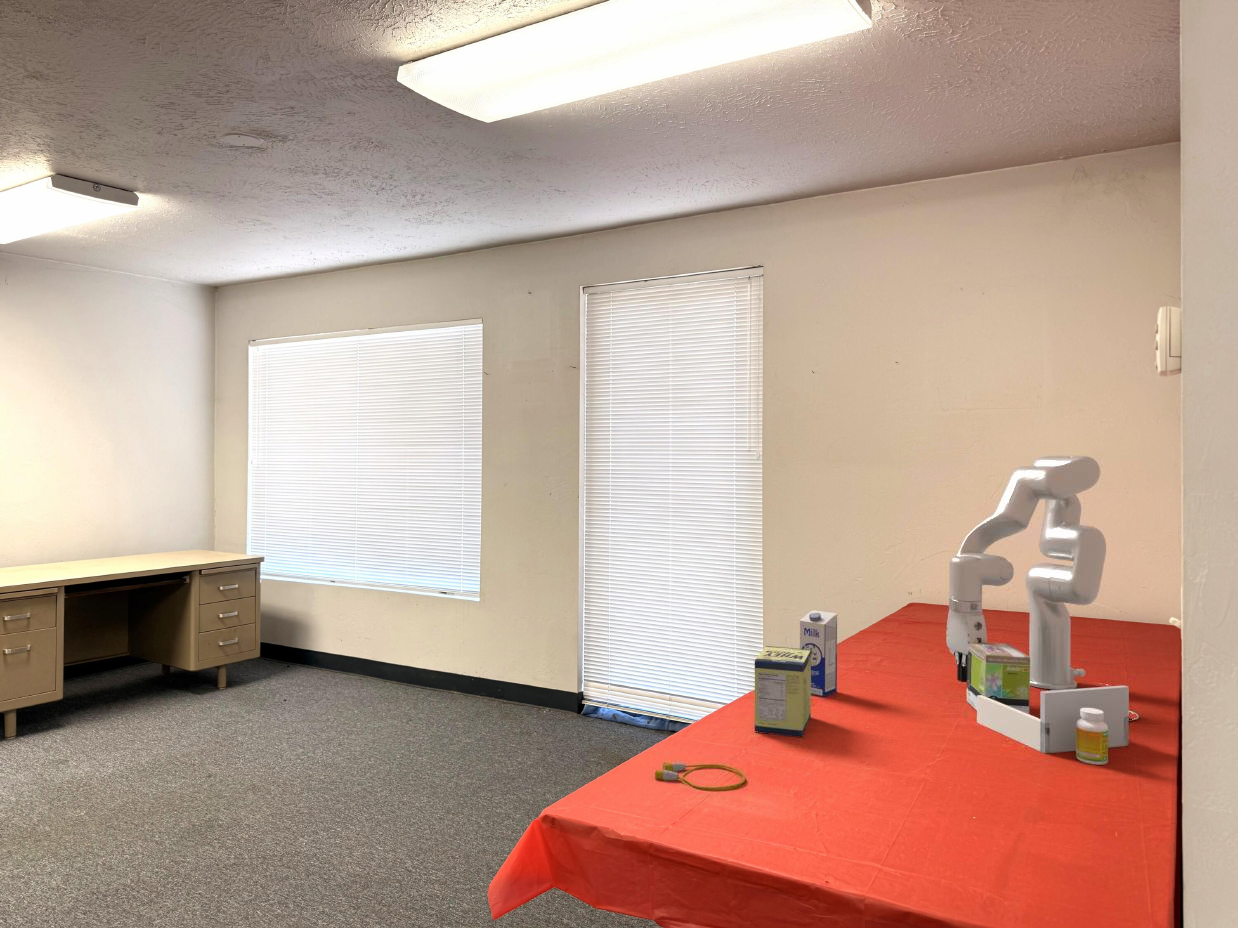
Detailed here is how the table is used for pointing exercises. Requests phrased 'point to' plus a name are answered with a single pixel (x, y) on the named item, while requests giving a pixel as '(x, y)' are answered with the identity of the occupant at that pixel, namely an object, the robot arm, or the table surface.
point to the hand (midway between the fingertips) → (964, 680)
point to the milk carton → (821, 650)
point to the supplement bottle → (1092, 737)
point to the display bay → (1059, 717)
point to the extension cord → (672, 768)
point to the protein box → (783, 691)
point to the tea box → (998, 675)
